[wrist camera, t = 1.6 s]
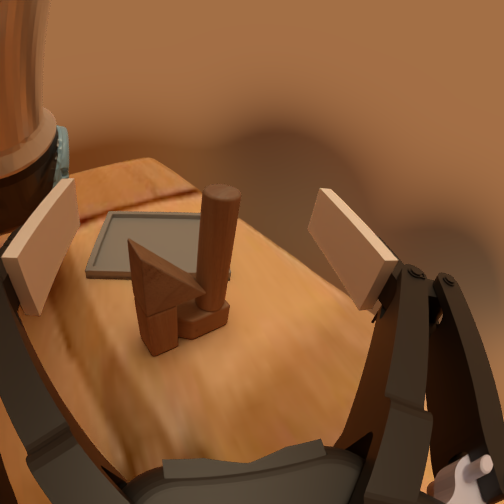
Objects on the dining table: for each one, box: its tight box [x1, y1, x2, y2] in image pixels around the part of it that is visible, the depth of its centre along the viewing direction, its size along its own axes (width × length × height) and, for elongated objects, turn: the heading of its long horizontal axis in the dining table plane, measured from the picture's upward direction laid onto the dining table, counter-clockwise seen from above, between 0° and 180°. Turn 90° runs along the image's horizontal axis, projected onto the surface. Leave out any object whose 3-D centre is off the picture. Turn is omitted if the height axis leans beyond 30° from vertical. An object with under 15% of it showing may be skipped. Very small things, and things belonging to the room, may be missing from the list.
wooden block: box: [127, 184, 241, 356], centre depth 29 cm, size 4×11×18 cm, turn 130°
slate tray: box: [85, 211, 231, 280], centre depth 47 cm, size 22×18×2 cm
